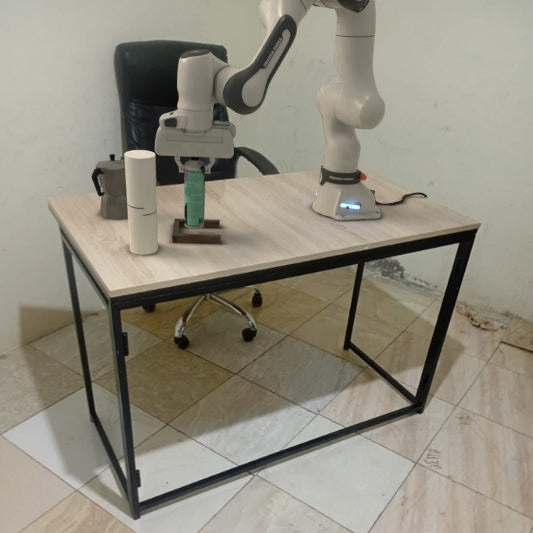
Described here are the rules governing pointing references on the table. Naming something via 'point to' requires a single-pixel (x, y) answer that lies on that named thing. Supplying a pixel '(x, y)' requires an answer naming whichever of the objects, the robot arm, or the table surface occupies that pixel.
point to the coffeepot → (111, 187)
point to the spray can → (194, 193)
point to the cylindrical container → (141, 201)
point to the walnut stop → (195, 237)
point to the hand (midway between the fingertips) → (194, 172)
